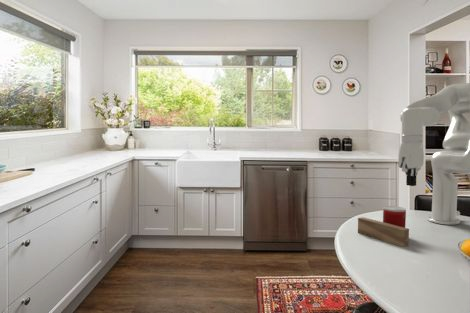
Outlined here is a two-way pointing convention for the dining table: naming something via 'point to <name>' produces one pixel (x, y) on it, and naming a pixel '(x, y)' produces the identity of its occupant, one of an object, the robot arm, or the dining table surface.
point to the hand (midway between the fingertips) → (411, 185)
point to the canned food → (394, 215)
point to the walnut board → (383, 231)
